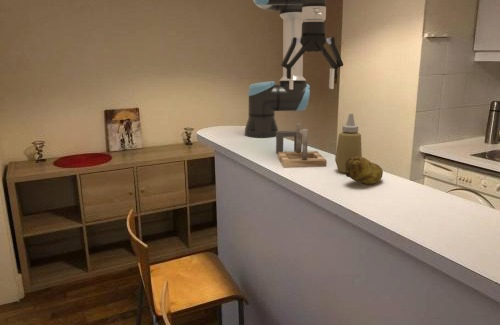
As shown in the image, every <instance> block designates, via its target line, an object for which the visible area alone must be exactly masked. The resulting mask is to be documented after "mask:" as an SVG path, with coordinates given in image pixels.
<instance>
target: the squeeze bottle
mask: <svg viewBox="0 0 500 325" xmlns="http://www.w3.org/2000/svg"><path fill="white" fill-rule="evenodd" d="M335 151H336V152H335V157H334V158H335V159H334V161H335V164H336V169H337V171H338V172H339V173H343V174H346V171H345V163H346V161H347V160H348V159H350V158H352V157H363V153H362V152H363V151H362V134H361V133H359V125H357V124H356V123H355V117H354V114H353V113H349V114H348V116H347V120H346V124H344V125H342V131H341V132H340V133H339V134H338V139H337V145H336V150H335Z"/></svg>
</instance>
